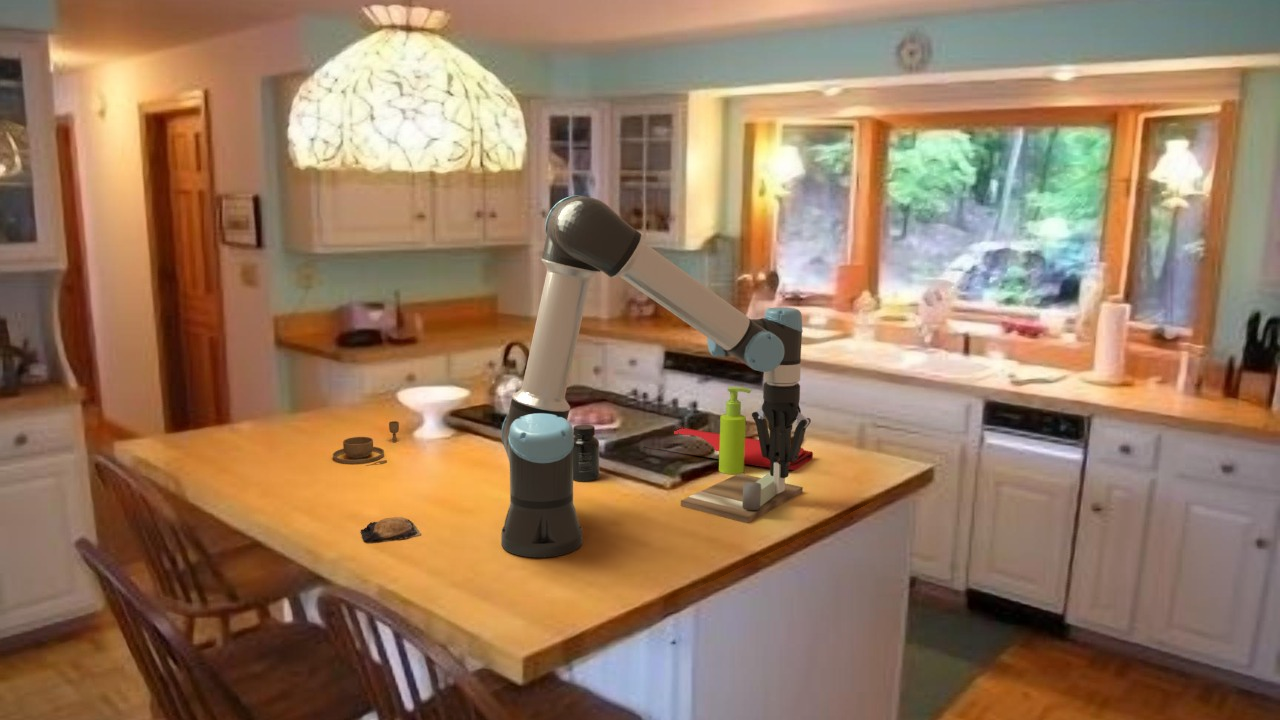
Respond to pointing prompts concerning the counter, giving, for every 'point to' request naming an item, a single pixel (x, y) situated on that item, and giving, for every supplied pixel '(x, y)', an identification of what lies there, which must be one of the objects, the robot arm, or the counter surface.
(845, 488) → the counter surface
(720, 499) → the walnut board
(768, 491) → the sharpening stone
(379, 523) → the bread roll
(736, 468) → the soap dispenser
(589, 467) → the supplement bottle
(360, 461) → the place setting
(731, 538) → the counter surface
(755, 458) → the dish drying mat
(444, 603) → the counter surface
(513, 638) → the counter surface
